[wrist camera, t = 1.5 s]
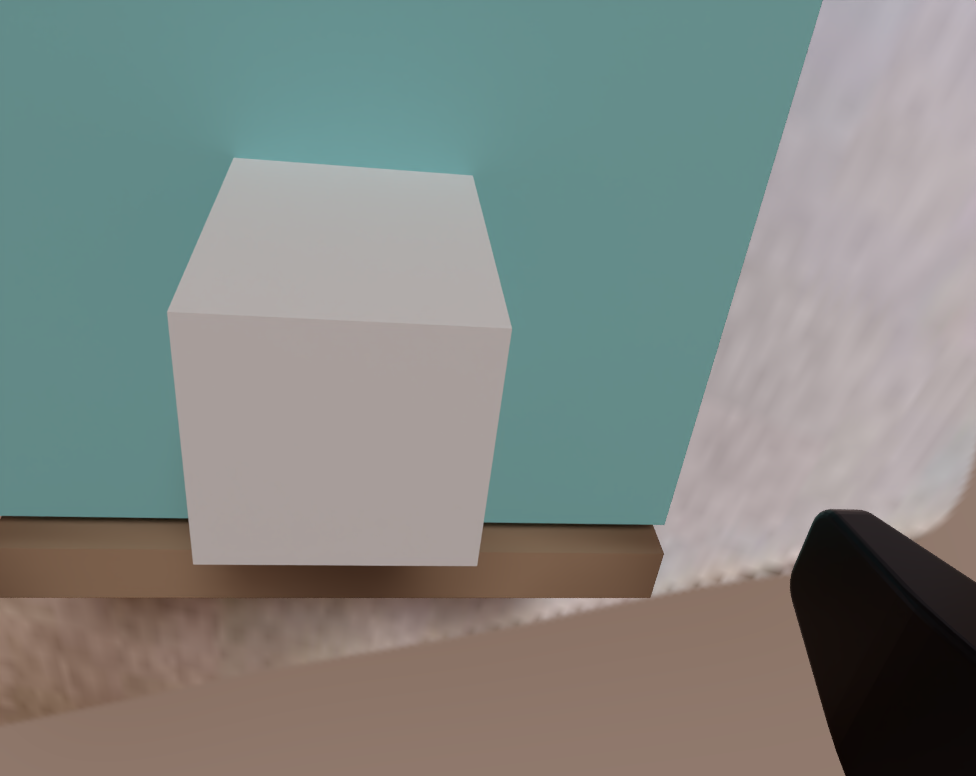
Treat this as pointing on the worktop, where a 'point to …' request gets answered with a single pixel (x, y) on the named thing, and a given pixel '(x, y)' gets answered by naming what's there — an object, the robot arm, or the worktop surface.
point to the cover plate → (402, 85)
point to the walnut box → (171, 573)
